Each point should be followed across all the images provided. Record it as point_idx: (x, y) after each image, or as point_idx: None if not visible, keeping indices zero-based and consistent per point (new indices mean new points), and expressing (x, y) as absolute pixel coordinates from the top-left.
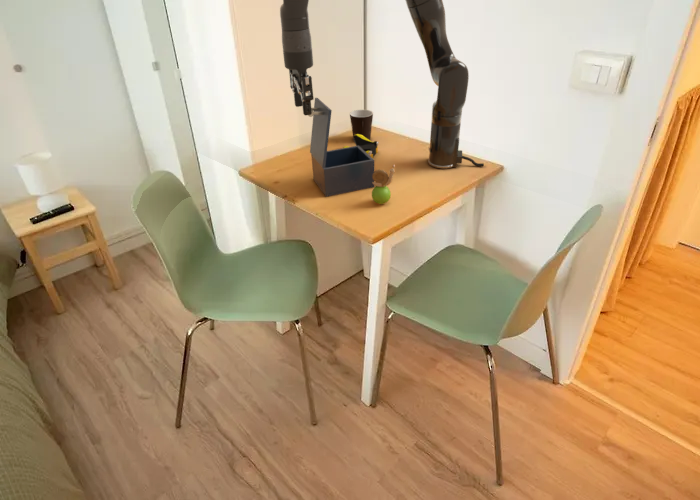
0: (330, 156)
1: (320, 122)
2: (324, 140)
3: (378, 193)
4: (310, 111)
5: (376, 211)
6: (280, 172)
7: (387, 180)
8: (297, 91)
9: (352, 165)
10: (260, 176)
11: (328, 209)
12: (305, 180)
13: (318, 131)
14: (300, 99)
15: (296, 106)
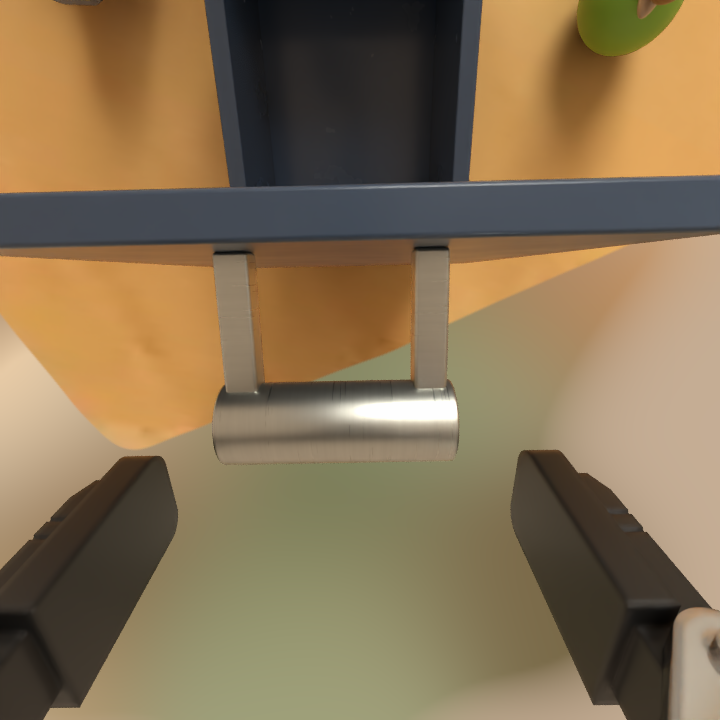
0: (249, 145)
1: (361, 255)
2: (495, 257)
3: (669, 19)
4: (612, 495)
5: (651, 75)
6: (166, 345)
7: None
8: (18, 705)
9: (475, 71)
10: (184, 413)
11: (527, 259)
12: (266, 274)
13: (335, 260)
14: (116, 536)
15: (176, 519)
